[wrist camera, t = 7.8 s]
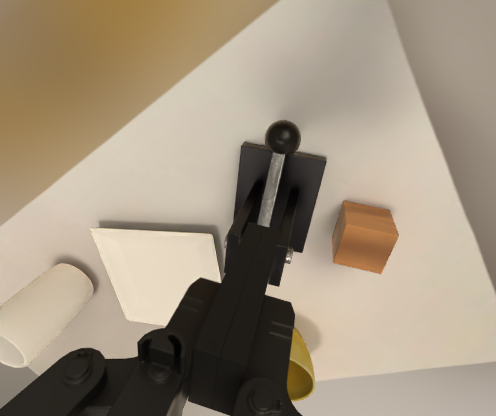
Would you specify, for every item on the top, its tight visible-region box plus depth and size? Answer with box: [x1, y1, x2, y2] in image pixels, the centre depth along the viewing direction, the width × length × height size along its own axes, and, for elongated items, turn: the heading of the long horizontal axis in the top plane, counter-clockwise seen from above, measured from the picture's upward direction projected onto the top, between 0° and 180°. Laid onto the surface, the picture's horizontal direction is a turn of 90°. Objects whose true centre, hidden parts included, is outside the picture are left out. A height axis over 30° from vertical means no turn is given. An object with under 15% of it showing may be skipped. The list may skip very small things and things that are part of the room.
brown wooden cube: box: [332, 201, 399, 274], centre depth 32 cm, size 5×5×5 cm
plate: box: [90, 228, 221, 326], centre depth 45 cm, size 19×19×2 cm
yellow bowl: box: [287, 328, 315, 402], centre depth 43 cm, size 10×10×7 cm
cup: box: [0, 263, 94, 368], centre depth 45 cm, size 8×8×14 cm
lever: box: [257, 120, 301, 227], centre depth 26 cm, size 13×3×3 cm
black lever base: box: [224, 142, 326, 287], centre depth 30 cm, size 12×9×12 cm
